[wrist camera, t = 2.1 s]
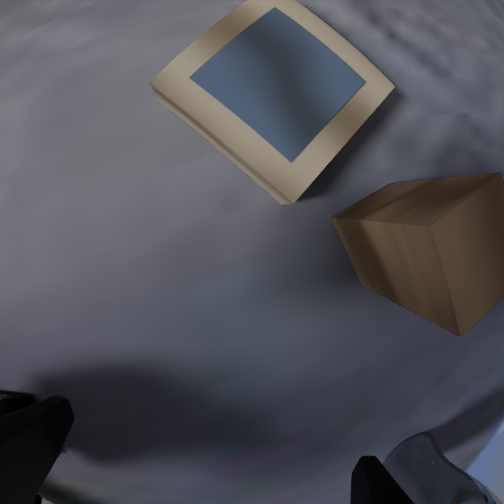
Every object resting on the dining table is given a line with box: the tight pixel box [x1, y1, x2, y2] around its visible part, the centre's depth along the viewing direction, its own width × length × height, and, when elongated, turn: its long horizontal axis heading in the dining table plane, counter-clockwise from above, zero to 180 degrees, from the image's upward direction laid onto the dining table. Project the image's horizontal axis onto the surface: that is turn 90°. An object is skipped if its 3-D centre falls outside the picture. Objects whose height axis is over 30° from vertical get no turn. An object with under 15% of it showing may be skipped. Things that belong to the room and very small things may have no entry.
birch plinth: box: [150, 0, 395, 205], centre depth 16 cm, size 10×10×3 cm
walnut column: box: [330, 173, 504, 337], centre depth 15 cm, size 5×5×10 cm
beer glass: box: [383, 434, 503, 504], centre depth 16 cm, size 7×7×15 cm
